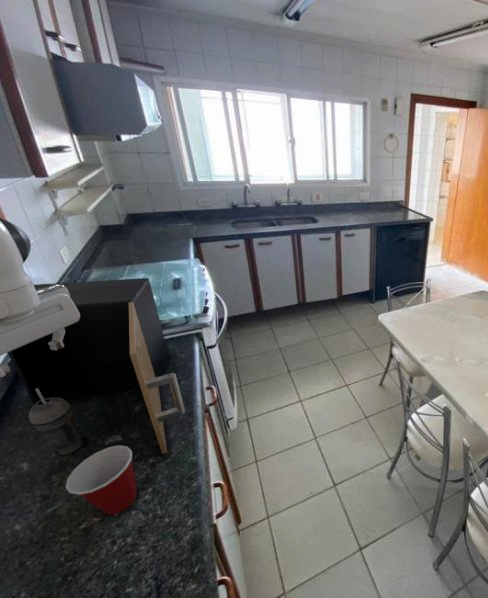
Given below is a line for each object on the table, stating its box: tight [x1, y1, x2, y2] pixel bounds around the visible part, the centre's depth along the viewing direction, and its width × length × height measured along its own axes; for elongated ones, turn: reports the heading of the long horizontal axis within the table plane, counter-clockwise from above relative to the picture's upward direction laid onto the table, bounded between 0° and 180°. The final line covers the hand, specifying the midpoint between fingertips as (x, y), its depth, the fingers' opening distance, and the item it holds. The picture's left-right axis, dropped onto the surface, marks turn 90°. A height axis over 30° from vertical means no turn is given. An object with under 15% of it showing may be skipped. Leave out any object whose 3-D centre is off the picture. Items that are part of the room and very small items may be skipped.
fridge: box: [7, 277, 170, 406], centre depth 101 cm, size 18×30×32 cm, turn 112°
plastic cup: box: [65, 445, 138, 515], centre depth 70 cm, size 11×11×12 cm
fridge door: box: [129, 302, 186, 455], centre depth 90 cm, size 7×30×31 cm, turn 37°
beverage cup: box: [28, 388, 83, 455], centre depth 80 cm, size 7×7×20 cm
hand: (32, 360), depth 68 cm, fingers open, 8 cm apart
